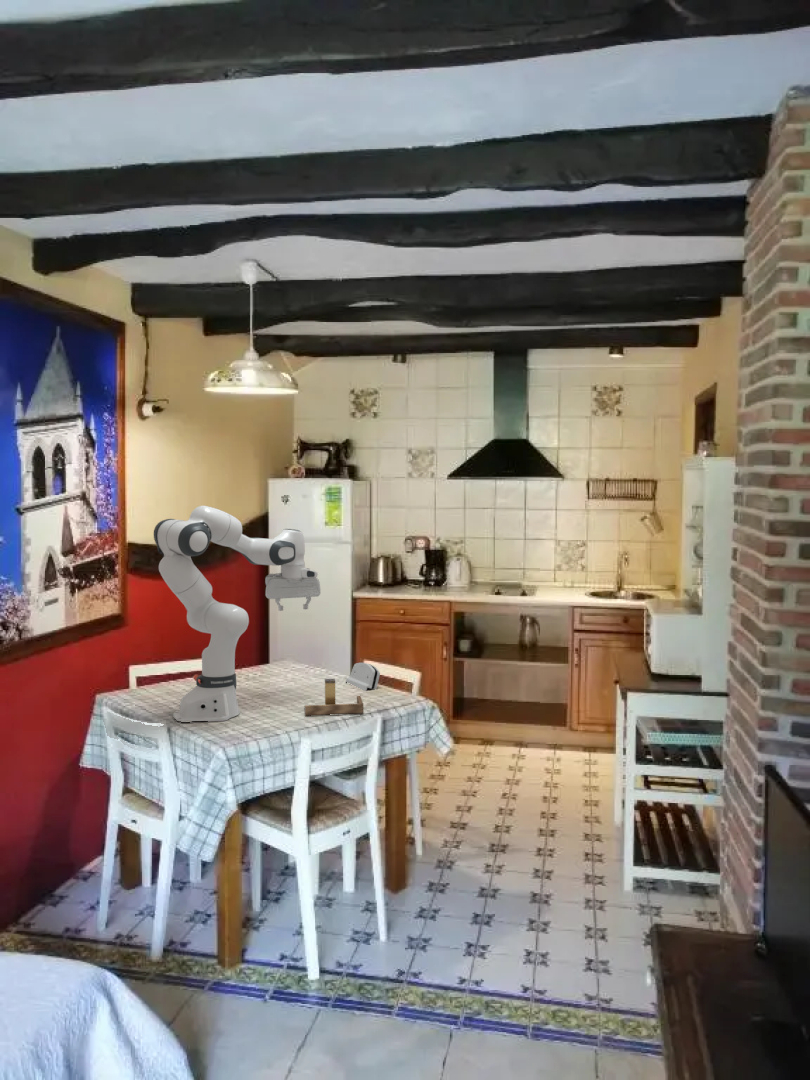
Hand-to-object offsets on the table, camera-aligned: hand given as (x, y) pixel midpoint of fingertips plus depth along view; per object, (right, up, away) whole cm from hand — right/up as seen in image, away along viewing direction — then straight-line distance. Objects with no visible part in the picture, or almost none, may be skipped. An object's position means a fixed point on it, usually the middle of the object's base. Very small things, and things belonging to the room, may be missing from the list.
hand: (293, 609), depth 322 cm
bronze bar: (+15, -33, -15) cm, 39 cm away
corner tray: (+16, -34, -16) cm, 41 cm away
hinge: (+25, -32, +22) cm, 46 cm away
